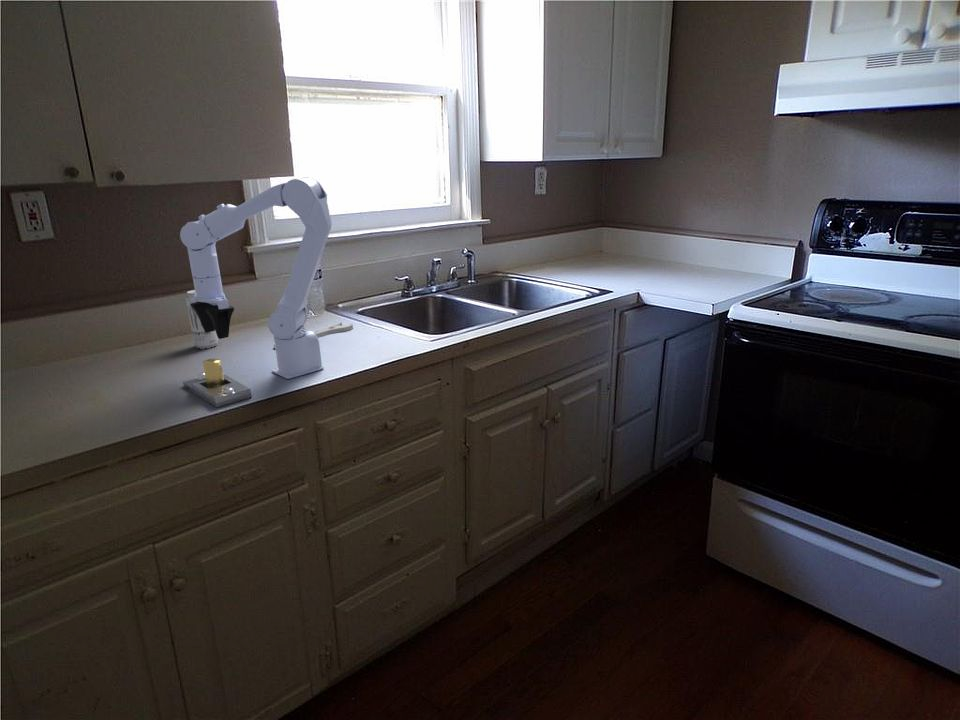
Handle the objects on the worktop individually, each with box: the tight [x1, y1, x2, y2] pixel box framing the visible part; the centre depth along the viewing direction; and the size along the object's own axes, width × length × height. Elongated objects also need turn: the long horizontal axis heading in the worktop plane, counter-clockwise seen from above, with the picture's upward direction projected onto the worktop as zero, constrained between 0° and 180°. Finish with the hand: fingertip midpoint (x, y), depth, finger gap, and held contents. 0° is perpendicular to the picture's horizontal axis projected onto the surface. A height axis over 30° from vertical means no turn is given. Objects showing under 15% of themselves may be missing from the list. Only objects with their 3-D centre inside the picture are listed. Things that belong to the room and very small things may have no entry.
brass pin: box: [202, 358, 225, 389], centre depth 134 cm, size 4×4×7 cm
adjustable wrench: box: [273, 322, 354, 348], centre depth 173 cm, size 25×6×2 cm, turn 137°
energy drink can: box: [185, 289, 219, 350], centre depth 165 cm, size 6×6×15 cm
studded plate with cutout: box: [182, 371, 252, 408], centre depth 135 cm, size 7×18×2 cm, turn 44°
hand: (216, 334), depth 144 cm, fingers open, 7 cm apart
